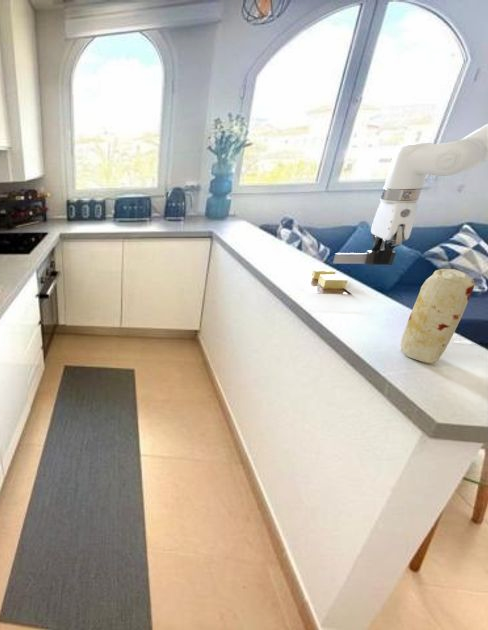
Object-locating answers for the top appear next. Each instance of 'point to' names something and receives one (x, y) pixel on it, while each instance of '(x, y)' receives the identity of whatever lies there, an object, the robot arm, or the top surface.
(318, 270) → the butter slice
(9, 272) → the top surface
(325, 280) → the butter block
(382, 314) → the top surface
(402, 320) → the top surface
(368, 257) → the knife
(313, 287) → the board
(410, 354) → the food model
